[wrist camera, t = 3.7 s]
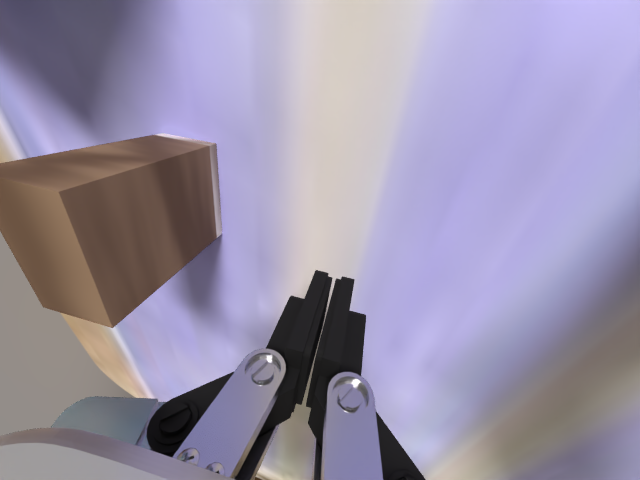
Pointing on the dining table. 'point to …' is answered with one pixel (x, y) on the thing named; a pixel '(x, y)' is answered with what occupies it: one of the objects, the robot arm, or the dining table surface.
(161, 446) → the robot arm
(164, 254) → the walnut block
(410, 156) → the dining table surface
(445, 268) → the dining table surface
